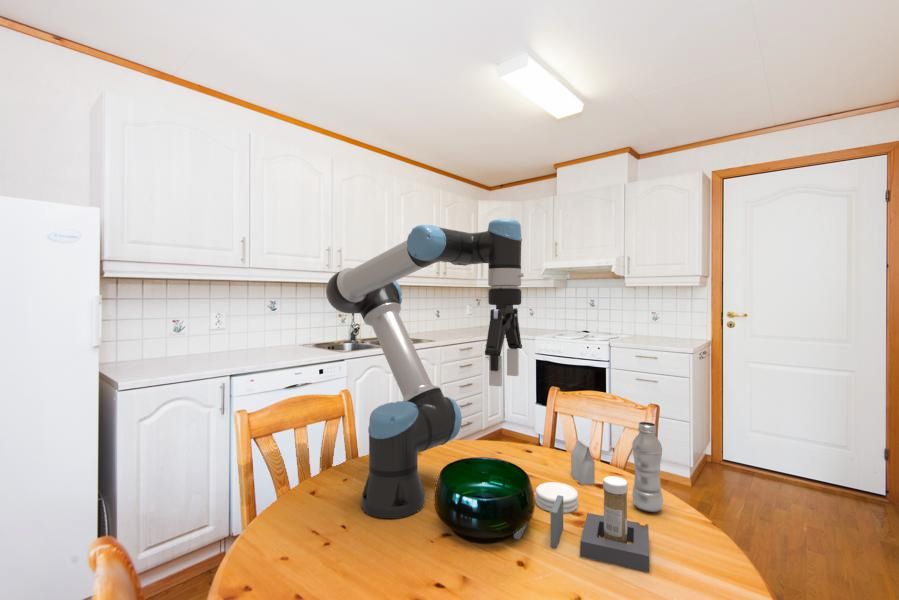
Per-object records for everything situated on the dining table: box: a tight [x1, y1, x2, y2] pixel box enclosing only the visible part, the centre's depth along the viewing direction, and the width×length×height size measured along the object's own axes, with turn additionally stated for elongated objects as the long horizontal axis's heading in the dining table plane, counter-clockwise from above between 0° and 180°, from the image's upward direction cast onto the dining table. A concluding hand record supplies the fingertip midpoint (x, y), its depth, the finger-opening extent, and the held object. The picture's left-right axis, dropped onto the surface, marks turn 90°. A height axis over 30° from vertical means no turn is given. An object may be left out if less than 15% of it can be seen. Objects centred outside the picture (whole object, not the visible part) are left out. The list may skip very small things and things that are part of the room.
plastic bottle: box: [631, 421, 664, 513], centre depth 101 cm, size 6×7×20 cm
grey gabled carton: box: [570, 439, 596, 486], centre depth 118 cm, size 4×7×10 cm, turn 8°
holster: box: [513, 495, 564, 549], centre depth 91 cm, size 9×8×7 cm
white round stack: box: [535, 481, 579, 514], centre depth 104 cm, size 10×10×4 cm
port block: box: [579, 512, 650, 574], centre depth 86 cm, size 12×12×3 cm
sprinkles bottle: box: [602, 475, 629, 544], centre depth 86 cm, size 5×5×14 cm
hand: (504, 380), depth 99 cm, fingers open, 13 cm apart
